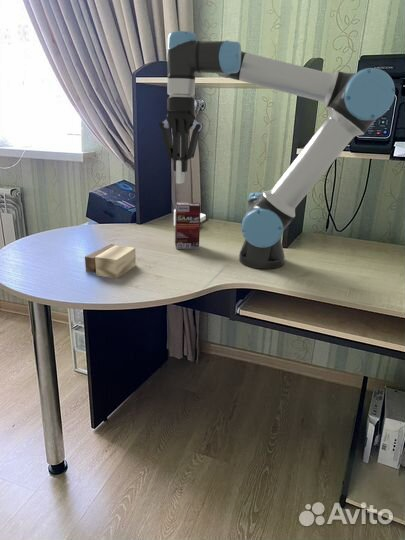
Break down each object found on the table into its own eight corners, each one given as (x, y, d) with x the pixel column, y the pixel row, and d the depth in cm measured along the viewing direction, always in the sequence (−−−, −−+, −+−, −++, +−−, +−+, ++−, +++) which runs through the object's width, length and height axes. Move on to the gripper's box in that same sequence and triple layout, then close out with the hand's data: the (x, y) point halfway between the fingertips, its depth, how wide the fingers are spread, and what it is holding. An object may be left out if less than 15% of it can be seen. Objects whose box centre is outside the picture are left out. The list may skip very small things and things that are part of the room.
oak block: (135, 265, 133) (135, 247, 131) (117, 279, 122) (116, 259, 120) (116, 262, 135) (115, 245, 133) (96, 275, 124) (95, 256, 122)
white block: (188, 229, 174) (188, 213, 171) (170, 226, 177) (170, 211, 175) (207, 219, 191) (208, 204, 188) (190, 216, 194) (190, 202, 192)
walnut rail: (119, 258, 139) (119, 245, 137) (94, 272, 126) (93, 258, 125) (111, 256, 140) (111, 243, 138) (85, 270, 128) (84, 256, 126)
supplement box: (175, 249, 149) (176, 205, 143) (174, 245, 153) (175, 202, 147) (199, 249, 150) (201, 205, 144) (198, 244, 154) (199, 202, 149)
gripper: (208, 97, 116) (205, 183, 124) (166, 96, 120) (166, 179, 129) (197, 96, 109) (195, 186, 118) (153, 95, 114) (154, 182, 122)
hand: (180, 182), depth 123 cm, fingers closed
